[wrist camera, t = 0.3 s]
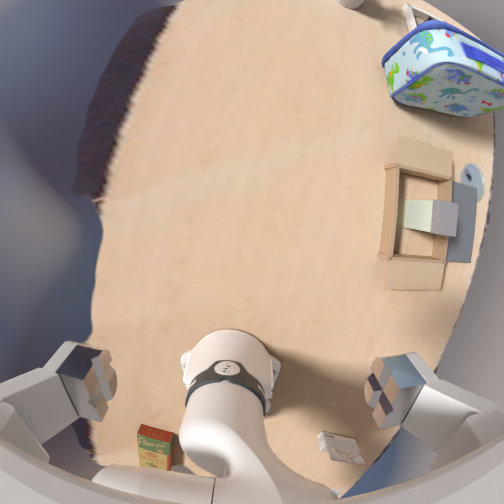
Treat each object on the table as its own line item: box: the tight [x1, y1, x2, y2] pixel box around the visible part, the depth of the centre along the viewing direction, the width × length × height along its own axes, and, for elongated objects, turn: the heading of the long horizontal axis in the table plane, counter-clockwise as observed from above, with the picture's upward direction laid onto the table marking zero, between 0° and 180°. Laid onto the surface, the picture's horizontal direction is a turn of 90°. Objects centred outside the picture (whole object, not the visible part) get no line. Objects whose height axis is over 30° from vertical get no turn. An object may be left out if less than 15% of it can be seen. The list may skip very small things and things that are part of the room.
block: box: [403, 200, 458, 237], centre depth 40 cm, size 5×4×11 cm
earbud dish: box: [403, 3, 447, 33], centre depth 37 cm, size 12×12×2 cm
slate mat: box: [446, 181, 477, 263], centre depth 45 cm, size 16×9×1 cm, turn 176°
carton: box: [137, 424, 174, 471], centre depth 53 cm, size 8×16×4 cm, turn 168°
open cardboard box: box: [378, 135, 453, 290], centre depth 43 cm, size 26×14×4 cm, turn 176°
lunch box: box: [382, 20, 504, 117], centre depth 31 cm, size 26×11×21 cm, turn 95°
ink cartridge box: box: [317, 431, 366, 465], centre depth 49 cm, size 2×11×10 cm, turn 61°
